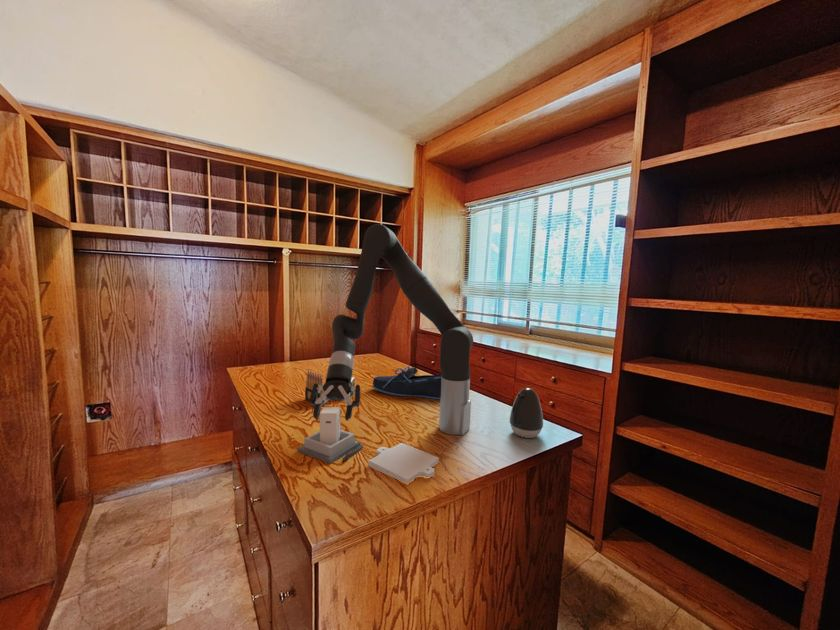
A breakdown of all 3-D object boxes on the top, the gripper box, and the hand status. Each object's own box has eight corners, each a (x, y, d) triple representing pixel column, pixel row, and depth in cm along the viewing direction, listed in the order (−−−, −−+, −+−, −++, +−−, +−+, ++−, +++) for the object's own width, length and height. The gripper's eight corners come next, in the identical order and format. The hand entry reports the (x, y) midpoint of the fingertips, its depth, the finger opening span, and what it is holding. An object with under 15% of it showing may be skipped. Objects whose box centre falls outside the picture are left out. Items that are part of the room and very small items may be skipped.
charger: (340, 441, 98) (340, 407, 97) (336, 448, 94) (336, 413, 93) (324, 440, 98) (324, 406, 97) (319, 448, 94) (320, 413, 93)
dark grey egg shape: (501, 433, 110) (504, 386, 108) (520, 425, 116) (523, 381, 115) (530, 445, 102) (533, 395, 101) (548, 436, 109) (551, 389, 107)
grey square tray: (360, 445, 98) (360, 433, 98) (330, 464, 88) (330, 450, 88) (329, 434, 104) (329, 423, 104) (297, 451, 94) (297, 439, 93)
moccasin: (377, 385, 155) (377, 359, 154) (453, 390, 152) (455, 364, 150) (369, 395, 141) (369, 367, 140) (453, 401, 138) (454, 372, 137)
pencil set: (304, 399, 134) (305, 369, 132) (309, 398, 135) (309, 368, 134) (319, 407, 126) (320, 375, 125) (324, 406, 128) (324, 374, 127)
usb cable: (360, 446, 98) (361, 443, 98) (363, 447, 97) (363, 444, 97) (341, 461, 90) (341, 457, 89) (344, 462, 89) (344, 458, 89)
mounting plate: (361, 464, 89) (361, 456, 89) (394, 446, 100) (395, 439, 99) (415, 491, 78) (416, 483, 78) (446, 468, 89) (447, 461, 89)
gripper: (315, 362, 104) (303, 413, 94) (362, 363, 104) (355, 414, 94) (319, 374, 110) (309, 423, 99) (364, 375, 110) (358, 424, 100)
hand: (331, 419), depth 97 cm, fingers open, 8 cm apart
